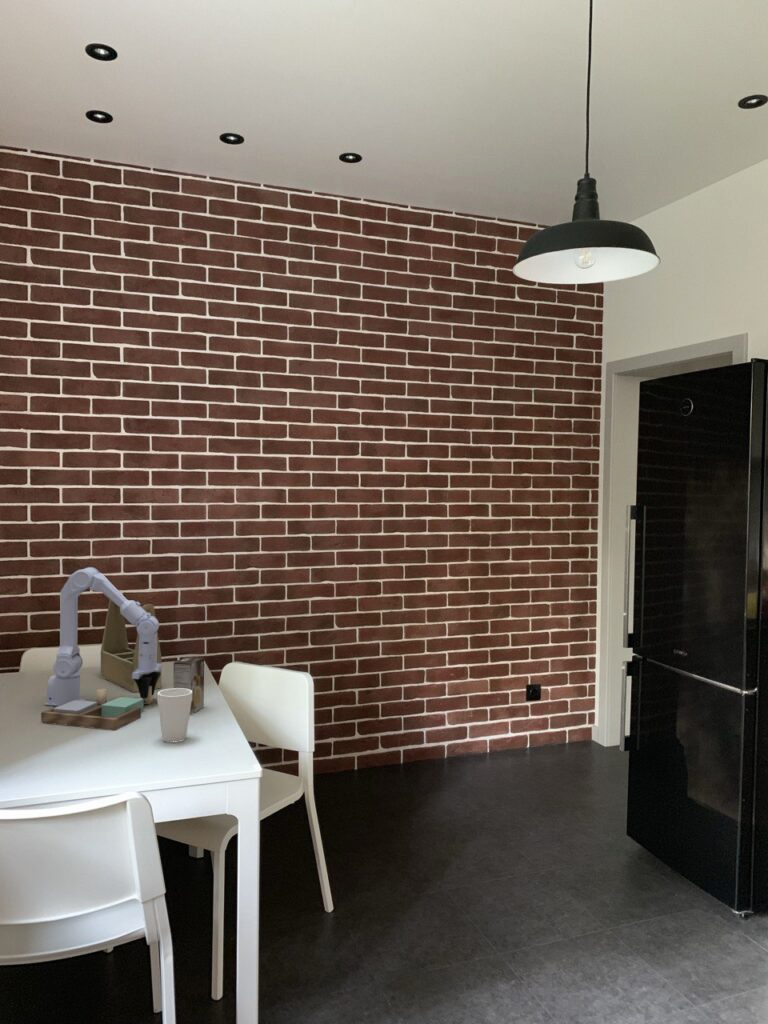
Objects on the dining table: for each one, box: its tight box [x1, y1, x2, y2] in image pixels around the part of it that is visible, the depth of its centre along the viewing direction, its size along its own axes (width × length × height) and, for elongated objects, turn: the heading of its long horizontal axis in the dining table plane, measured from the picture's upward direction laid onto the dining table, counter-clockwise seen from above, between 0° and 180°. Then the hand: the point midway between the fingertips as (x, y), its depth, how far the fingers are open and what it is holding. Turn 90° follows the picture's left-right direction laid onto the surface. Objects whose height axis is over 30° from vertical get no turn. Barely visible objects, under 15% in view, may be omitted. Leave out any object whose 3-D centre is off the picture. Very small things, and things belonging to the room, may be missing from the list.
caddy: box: [100, 599, 163, 693], centre depth 271 cm, size 29×11×30 cm, turn 42°
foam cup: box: [157, 687, 192, 743], centre depth 208 cm, size 10×9×13 cm
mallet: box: [101, 686, 153, 718], centre depth 235 cm, size 8×20×6 cm, turn 166°
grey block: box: [53, 688, 108, 714], centre depth 231 cm, size 8×20×6 cm, turn 168°
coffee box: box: [172, 656, 205, 715], centre depth 237 cm, size 9×6×16 cm
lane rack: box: [40, 701, 142, 731], centre depth 224 cm, size 24×14×3 cm, turn 77°
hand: (146, 696), depth 243 cm, fingers closed on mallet, 3 cm apart
